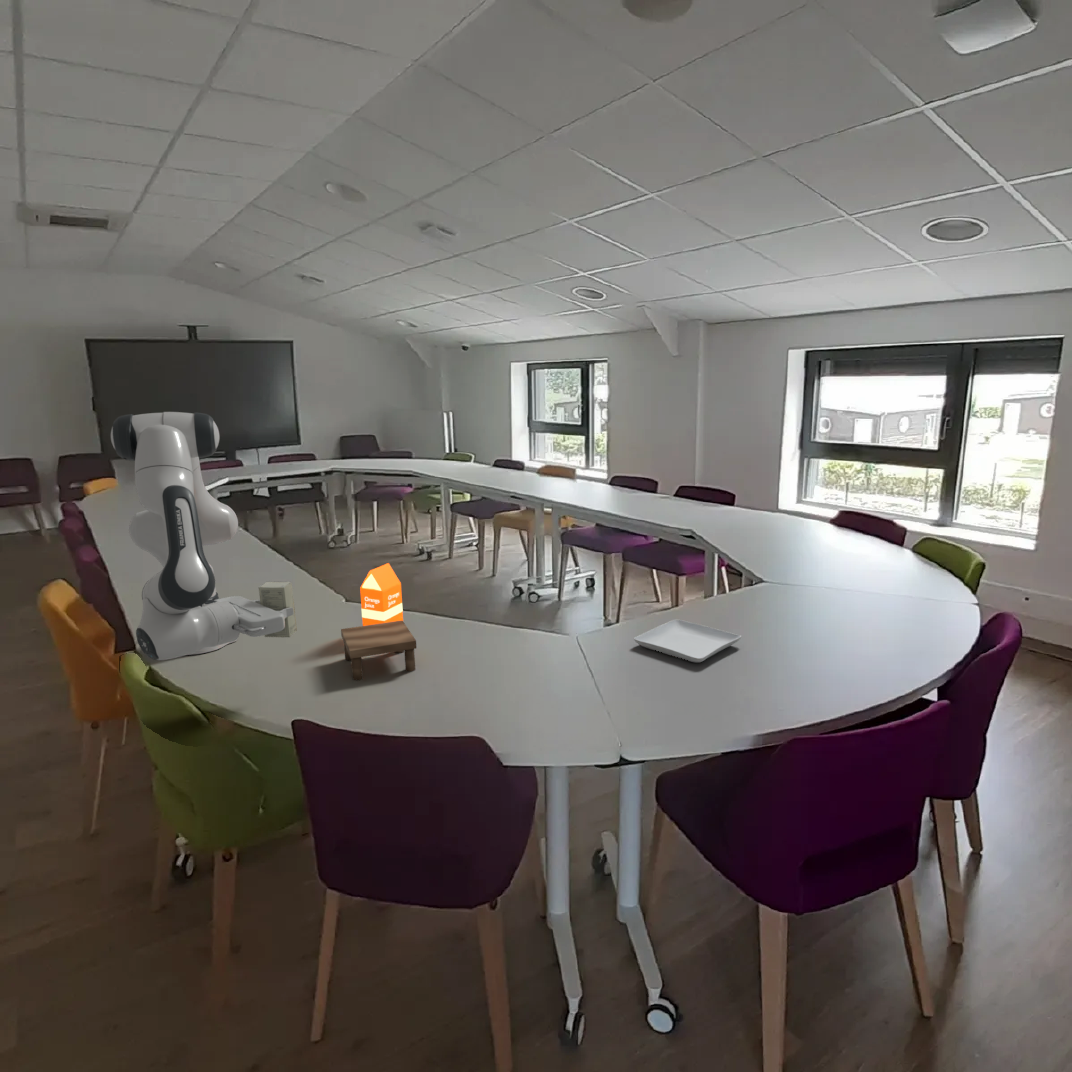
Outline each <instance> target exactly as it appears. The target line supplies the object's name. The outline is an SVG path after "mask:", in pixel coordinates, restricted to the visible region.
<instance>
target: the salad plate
mask: <svg viewBox="0 0 1072 1072" xmlns="http://www.w3.org/2000/svg"><path fill="white" fill-rule="evenodd" d="M741 638H742V635H741V634H737V633H734V632H730V631H727V630H722V629H718V628H715V627H711V626H707V625H703V624H700V623H695V622H691V621H687V620H683V619H679V618H676V619H675V618H674V619H672V620H670V621H667V622H666V623H663V624H660V625H658V626H656V627H654V628H652V629H649V630H648V631H645V632H642V633H641V634H639V635H636V636H634V637H633V641H635V643H637V644H638V645H639V646H640V647H644V648H646V649H648V650H652V651H655V650H656V652H658V651H659V653H661V652H662V653H663V654H665V655H668V656H671V655H672V657H674V656H675V658H677V657H678V658H677V659H681V658H682V659H681V660H684V659H685V661H687V660H688V661H687V662H691V663H701V662H703V661H706V659H709V658H710V657H712V656H714V655H716V654H717V653H719V652H721V651H723V650H724V649H726V648H729V647H731V646H733V645H734V644H736V643H737V642H738V641H740V640H741ZM662 653H661V654H662Z"/></svg>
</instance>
